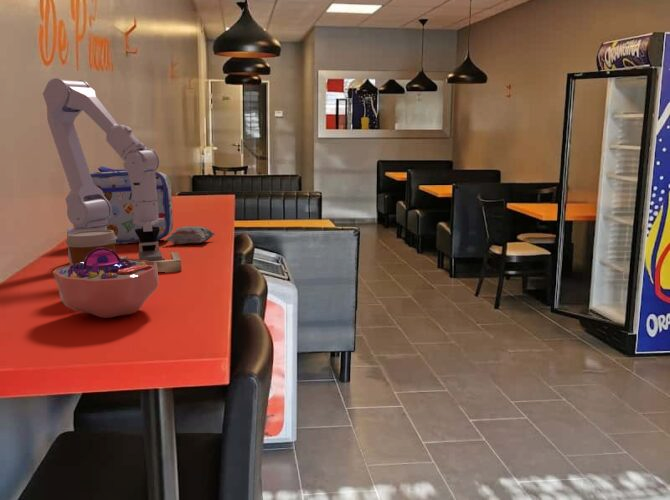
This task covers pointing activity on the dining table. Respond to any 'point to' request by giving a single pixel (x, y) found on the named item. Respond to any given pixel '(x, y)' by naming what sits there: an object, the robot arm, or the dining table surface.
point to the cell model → (106, 284)
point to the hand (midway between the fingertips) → (149, 257)
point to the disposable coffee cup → (89, 243)
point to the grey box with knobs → (150, 252)
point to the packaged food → (190, 235)
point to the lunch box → (120, 200)
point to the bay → (168, 263)
